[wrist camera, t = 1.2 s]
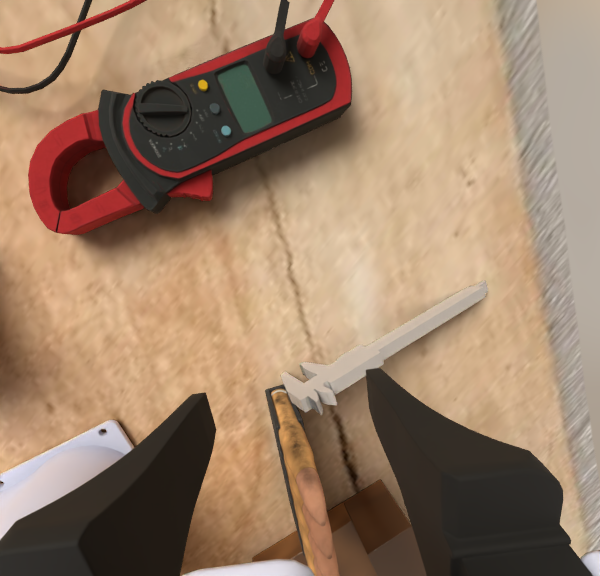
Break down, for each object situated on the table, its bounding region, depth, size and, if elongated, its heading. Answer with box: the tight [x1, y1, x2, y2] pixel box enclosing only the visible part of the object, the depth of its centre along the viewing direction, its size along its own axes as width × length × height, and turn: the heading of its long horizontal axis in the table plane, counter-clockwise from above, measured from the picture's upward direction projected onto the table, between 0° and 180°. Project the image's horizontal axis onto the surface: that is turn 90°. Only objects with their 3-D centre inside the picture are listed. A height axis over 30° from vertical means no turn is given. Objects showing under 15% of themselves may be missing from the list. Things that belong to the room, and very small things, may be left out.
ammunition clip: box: [265, 385, 340, 576], centre depth 20 cm, size 11×2×12 cm, turn 11°
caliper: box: [281, 280, 488, 415], centre depth 24 cm, size 20×1×6 cm, turn 111°
